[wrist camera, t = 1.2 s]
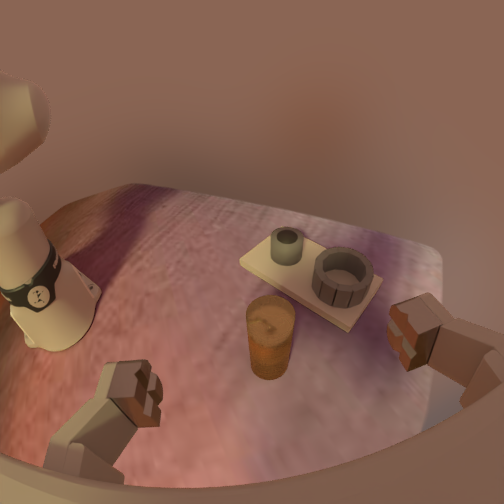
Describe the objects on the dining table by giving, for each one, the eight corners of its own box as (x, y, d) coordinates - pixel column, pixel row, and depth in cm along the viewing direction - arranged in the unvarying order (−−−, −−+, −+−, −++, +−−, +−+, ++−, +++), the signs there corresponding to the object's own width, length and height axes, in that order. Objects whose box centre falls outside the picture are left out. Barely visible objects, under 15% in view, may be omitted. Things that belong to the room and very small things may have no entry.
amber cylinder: (243, 365, 37) (235, 316, 29) (267, 341, 39) (267, 287, 31) (271, 387, 34) (273, 344, 26) (295, 361, 37) (305, 311, 29)
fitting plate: (240, 265, 51) (237, 240, 47) (282, 231, 57) (282, 208, 53) (348, 333, 39) (357, 310, 36) (381, 284, 46) (390, 261, 42)
